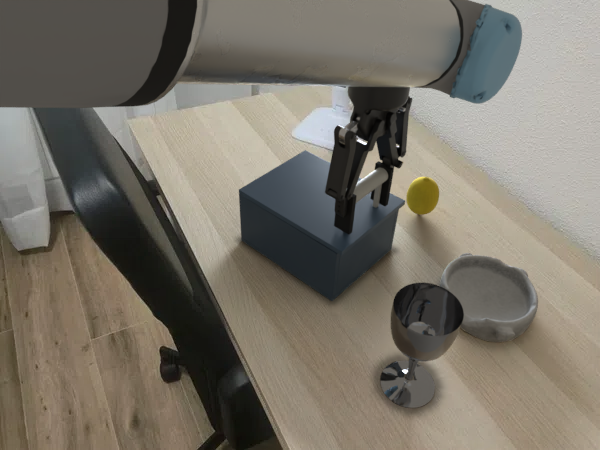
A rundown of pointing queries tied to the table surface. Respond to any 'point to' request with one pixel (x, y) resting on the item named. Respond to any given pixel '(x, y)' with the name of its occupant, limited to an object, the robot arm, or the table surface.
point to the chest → (312, 249)
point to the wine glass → (419, 340)
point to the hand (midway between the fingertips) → (361, 214)
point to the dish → (491, 296)
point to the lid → (319, 200)
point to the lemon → (422, 195)
